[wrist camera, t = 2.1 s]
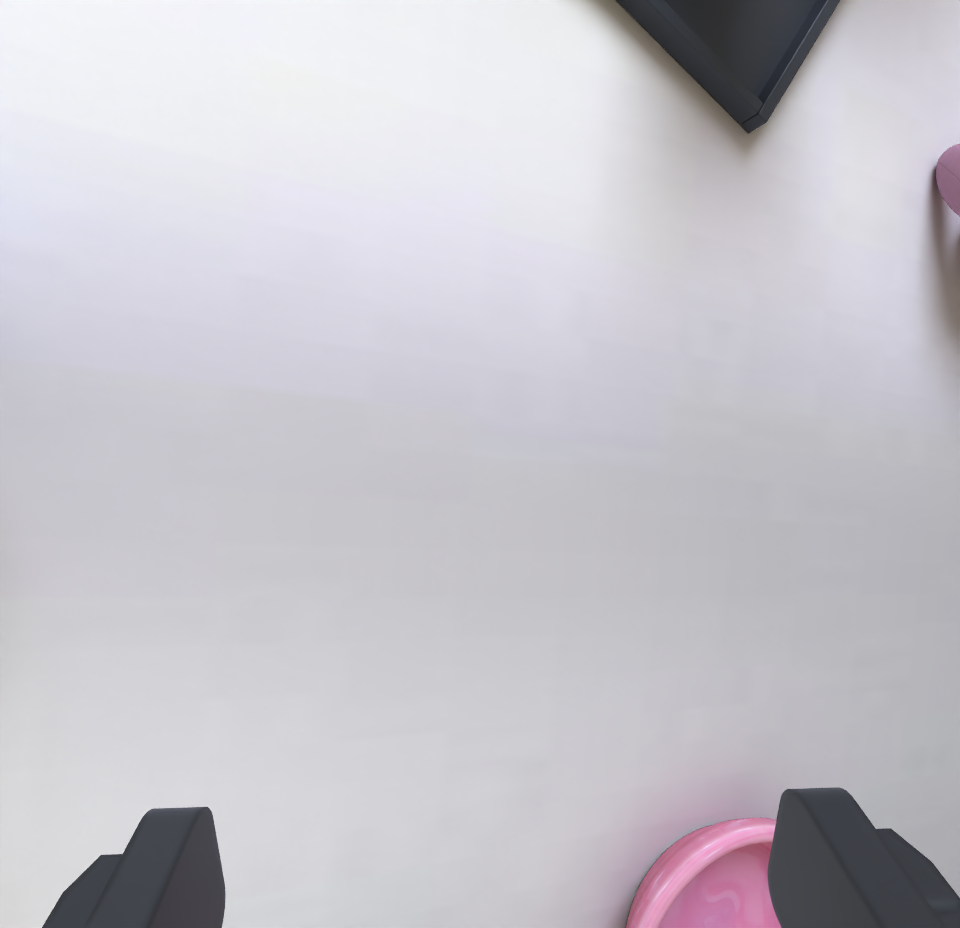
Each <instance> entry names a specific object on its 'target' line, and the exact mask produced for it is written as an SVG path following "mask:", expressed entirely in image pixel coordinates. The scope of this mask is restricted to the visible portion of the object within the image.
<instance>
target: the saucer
mask: <svg viewBox="0 0 960 928" xmlns="http://www.w3.org/2000/svg"><path fill="white" fill-rule="evenodd" d="M775 826H776V820H774V819H768V818H749V819H735V820H729V821H724V822H720V823H717V824H714V825H711V826H707V827H704V828H701V829H698V830H696V831H694V832H692V833H690V834H688V835H686V836H684V837H683V838H681V839H680V840H678V841H677V842H676V843H675V844H673V845H672V846H671V847H669V848H668V849H667V850H666V851H665V852H664V853H663V854H662V855H661V856H660V857H659V858H658V860H657V861H656V862H655V863H654V864H653V866H652V867H651V868H650V870H649V871H648V873H647V874H646V876H645V877H644V879H643V881H642V883H641V885H640V886H639V888H638V891H637V893H636V895H635V898H634V900H633V903H632V906H631V909H630V913H629V917H628V921H627V926H626V928H781V925H780V923H779V921H778V919H777V917H776V914H775V911H774V908H773V905H772V901H771V897H770V892H769V886H768V876H767V874H768V863H769V858H770V852H771V847H772V842H773V836H774V831H775Z"/></svg>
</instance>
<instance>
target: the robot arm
mask: <svg viewBox="0 0 960 928" xmlns="http://www.w3.org/2000/svg"><path fill="white" fill-rule="evenodd" d="M767 876H768V886H769V892H770V897H771V901H772V905H773V908H774V911H775V914H776V917H777V919H778V921H779V923H780V925H781V928H960V898H959V897H958V895H957V894H956V893H955V891H954V890H953V889H952V888H951V886H950V885H949V884H948V882H947V881H946V880H945V879H944V877H943V876H942V875H941V873H940V872H939V871H938V869H937V868H936V867H935V866H934V864H933V863H932V862H931V861H930V860H929V859H928V858H926V857H925V856H924V855H923V854H921V853H920V852H919V851H918V850H916V849H915V848H914V847H913V846H912V845H910V844H909V843H908V842H907V841H905V840H904V839H903V838H902V837H901V836H899V835H898V834H897V833H896V832H894V831H893V830H892V829H875V827H874V826H873V825H872V823H871V822H870V820H869V819H868V818H867V816H866V815H865V813H864V812H863V811H862V809H861V808H860V807H859V805H858V804H857V802H856V801H855V800H854V798H853V797H852V796H851V795H850V794H849V793H848V792H847V791H846V790H844V789H842V788H810V789H787V790H785V791H784V792H783V794H782V796H781V799H780V804H779V810H778V815H777V820H776V826H775V831H774V836H773V842H772V847H771V852H770V858H769V863H768V874H767ZM224 909H225V884H224V878H223V872H222V866H221V860H220V855H219V849H218V843H217V837H216V832H215V826H214V820H213V815H212V812H211V810H210V809H209V808H208V807H192V808H163V809H151V810H149V811H148V812H147V813H146V814H145V815H144V816H143V818H142V819H141V821H140V823H139V825H138V827H137V828H136V830H135V832H134V834H133V836H132V838H131V840H130V842H129V843H128V845H127V847H126V849H125V851H124V853H123V854H117V855H101V856H100V857H99V858H98V859H97V860H96V861H95V862H94V863H93V864H92V865H91V866H90V867H89V868H88V869H87V870H85V871H84V872H83V873H82V874H81V875H80V876H79V877H78V878H77V879H76V880H75V881H74V882H73V883H72V884H71V885H70V886H69V887H68V888H67V889H66V890H65V891H64V892H63V893H62V895H61V897H60V898H59V900H58V902H57V903H56V905H55V907H54V909H53V910H52V912H51V914H50V915H49V917H48V919H47V920H46V922H45V924H44V925H43V927H42V928H222V923H223V917H224Z"/></svg>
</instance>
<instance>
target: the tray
mask: <svg viewBox="0 0 960 928" xmlns="http://www.w3.org/2000/svg"><path fill="white" fill-rule="evenodd" d="M616 1H617V2H618V3H619V4H620V5H621V6H622V7H623V8H624V9H625V10H626V11H627V12H628V13H629V14H630V15H631V16H632V17H633V18H634V19H635V20H636V21H637V22H638V23H639V24H640V25H641V26H642V27H643V28H644V29H645V30H646V31H647V32H648V33H649V34H650V35H651V36H652V37H653V38H654V39H655V40H656V41H657V42H658V43H659V44H660V45H661V46H662V47H663V48H664V49H665V50H666V51H667V52H668V53H669V54H670V55H671V56H672V57H673V58H674V59H675V60H676V61H677V62H678V63H679V64H680V65H681V66H682V67H683V68H684V69H685V70H686V71H687V72H688V73H689V74H690V75H691V76H692V77H693V78H694V79H695V80H696V81H697V82H698V83H699V84H700V85H701V86H702V87H703V88H704V89H705V90H706V91H707V92H708V93H709V94H710V95H711V96H712V97H713V98H714V99H715V100H716V101H717V102H718V103H719V104H720V105H721V106H722V107H723V108H724V109H725V110H726V111H727V112H728V113H729V114H730V115H731V116H732V117H733V118H734V119H735V120H736V121H737V122H738V123H739V124H740V125H741V126H742V127H743V128H744V129H745V130H746V131H747V132H748V133H750V132H751V131H753V130H754V129H756V128H758V127H759V126H761V125H762V124H764V123H766V122H767V120H768V119H769V117H770V115H771V114H772V112H773V111H774V109H775V107H776V106H777V104H778V102H779V101H780V99H781V97H782V96H783V94H784V92H785V91H786V89H787V87H788V86H789V84H790V82H791V81H792V79H793V77H794V76H795V74H796V72H797V71H798V69H799V68H800V66H801V64H802V63H803V61H804V59H805V58H806V56H807V54H808V53H809V51H810V49H811V48H812V46H813V44H814V43H815V41H816V39H817V38H818V36H819V34H820V33H821V31H822V30H823V28H824V26H825V25H826V23H827V21H828V20H829V18H830V16H831V15H832V13H833V11H834V10H835V8H836V6H837V5H838V3H839V1H840V0H616Z"/></svg>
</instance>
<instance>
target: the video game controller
mask: <svg viewBox="0 0 960 928" xmlns="http://www.w3.org/2000/svg"><path fill="white" fill-rule="evenodd" d="M936 179H937V186H938V189H939V191H940V193H941V195H942V197H943V199H944V200H945V202H946V203H947V204H948V206H949V207H950V208H951V209H952V210H953V211H954V212H955V213H956V214H957V215H959V216H960V144H957V145H954V146H952V147H950V148H949V149H947V150H946V151H945V152H944V153H943V154H942V156H941V157H940V158H939V160H938V163H937V167H936Z"/></svg>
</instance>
